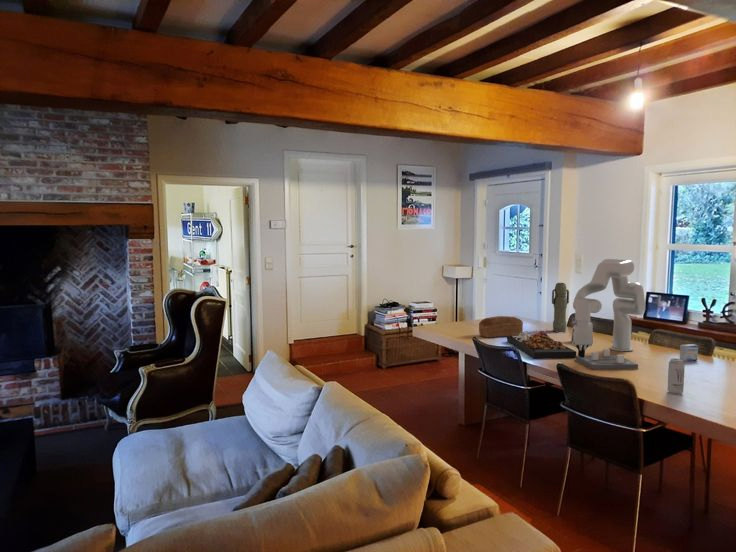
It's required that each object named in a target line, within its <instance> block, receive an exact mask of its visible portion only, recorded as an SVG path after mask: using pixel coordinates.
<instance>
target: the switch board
mask: <svg viewBox="0 0 736 552" xmlns="http://www.w3.org/2000/svg"><path fill="white" fill-rule="evenodd" d="M617 355H618V354H610V356H609V357H604V356H603V354H601V355H600V354H599V356H598V360H592V359H591V358H592V354H591V355H589V354H588V355H586V354H585V356H584V358H583V357H582V358H581V357H579V356H578V355H576V358H575V361H576V362H578V363H579V364H582V365H584V366H585V367H587V368H588V369H591V370H595V371H597V370H599V371H601V370H638V369H639V363H636V362H634V361H632V360H629V359H627V358H625V357H624V363H617Z"/></svg>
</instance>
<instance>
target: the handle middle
mask: <svg viewBox="0 0 736 552" xmlns="http://www.w3.org/2000/svg"><path fill="white" fill-rule="evenodd" d="M591 355H592V358H591V359H592V360H598V356H599V355H600V353H599V352H598V351H592V352H591Z"/></svg>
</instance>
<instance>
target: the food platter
mask: <svg viewBox="0 0 736 552" xmlns="http://www.w3.org/2000/svg"><path fill="white" fill-rule="evenodd" d="M547 329H548V328H545V331H544V330H540V331H537V330H535V333H534V334H531V333H527V332H522V333H520V334H519V335H511V336H506V341H507V343H508V344H510V345H511V346H512V347H514V348H516V349H518V350H519V351H521V352H522V353H524V354H525V355H527V356H528V357H530V358H532V359H533V360H540V359H541V360H543V359H545V360H546V359H547V360H548V359H549V360H550V359H576V356H577V351H576V350H574V349H572V348H570V347H568V346H566V345H564V342H562V341H559V340H558V341H557V340H554V339H553V338H552V337H550V336H549V335H548V333H547Z"/></svg>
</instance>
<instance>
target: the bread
mask: <svg viewBox="0 0 736 552" xmlns="http://www.w3.org/2000/svg"><path fill="white" fill-rule="evenodd" d="M523 325H524V322H523V320H522V319H520V318H519V317H515V316H505V315H504V316H503V315H497V316H496V315H495V316H489V317H486V318H484V319H481V321H480V322H479V323H478V331H479V335H480V336H481V337H484V338H497V337H498V338H499V337H501V338H502V337H503V338H504V337H507V336H511V335H519V334H520V333H523V329H524V328H523V327H524V326H523Z"/></svg>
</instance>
